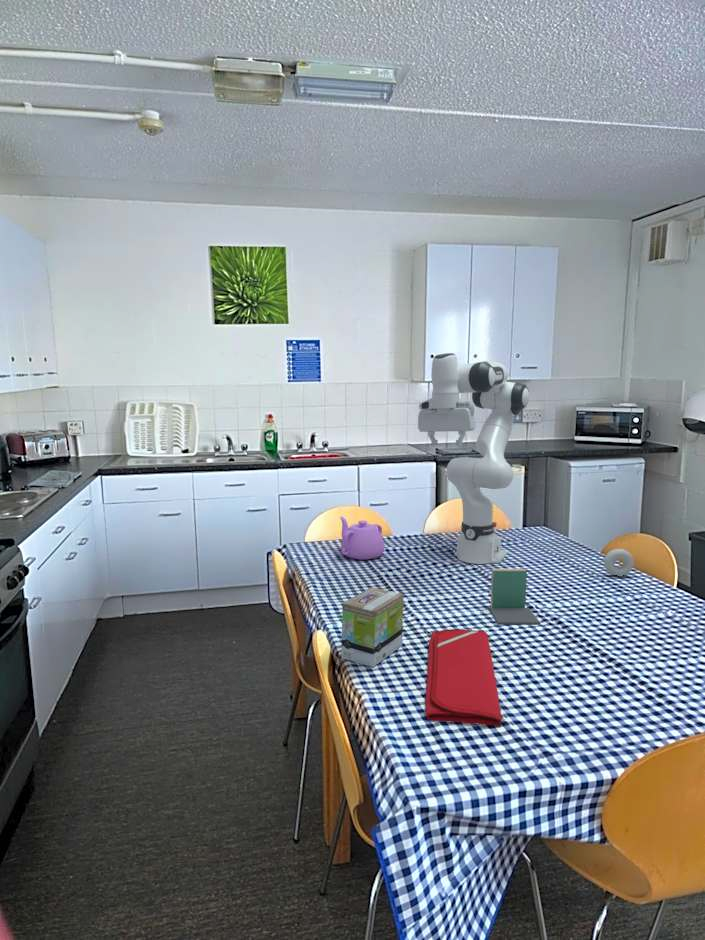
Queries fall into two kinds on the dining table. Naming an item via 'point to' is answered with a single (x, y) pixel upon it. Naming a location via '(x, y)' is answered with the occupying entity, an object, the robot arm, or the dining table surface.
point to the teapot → (362, 540)
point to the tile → (508, 588)
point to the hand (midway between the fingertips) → (446, 445)
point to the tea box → (372, 626)
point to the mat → (514, 616)
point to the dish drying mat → (461, 678)
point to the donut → (616, 554)
